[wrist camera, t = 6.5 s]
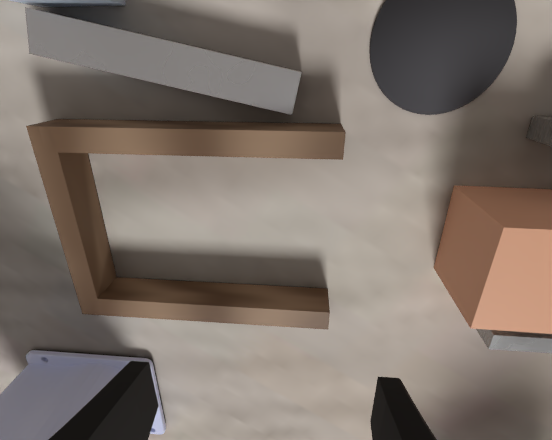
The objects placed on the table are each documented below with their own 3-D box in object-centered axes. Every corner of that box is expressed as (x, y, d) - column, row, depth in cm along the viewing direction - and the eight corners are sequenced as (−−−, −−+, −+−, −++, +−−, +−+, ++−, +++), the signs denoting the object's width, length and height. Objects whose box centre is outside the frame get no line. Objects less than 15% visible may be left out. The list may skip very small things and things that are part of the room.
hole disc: (362, 113, 16) (363, 113, 16) (378, -40, 14) (379, -41, 14) (492, 114, 16) (494, 115, 16) (533, -43, 13) (536, -45, 13)
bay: (102, 291, 22) (82, 313, 20) (57, 118, 18) (26, 126, 16) (326, 304, 21) (328, 329, 19) (341, 123, 17) (345, 132, 15)
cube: (433, 267, 20) (470, 328, 15) (453, 185, 18) (503, 227, 13) (524, 272, 19) (590, 336, 15) (555, 188, 17) (644, 234, 13)
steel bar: (56, 54, 17) (29, 53, 15) (54, 12, 16) (25, 7, 14) (293, 109, 17) (291, 114, 15) (302, 71, 16) (301, 72, 14)
